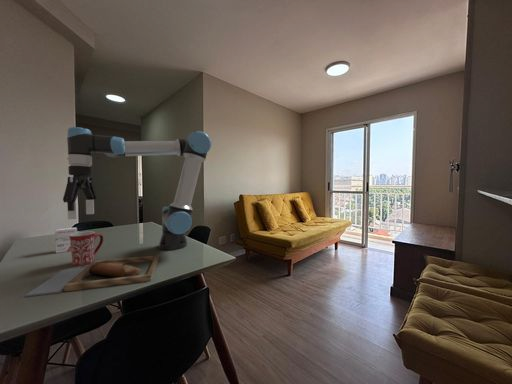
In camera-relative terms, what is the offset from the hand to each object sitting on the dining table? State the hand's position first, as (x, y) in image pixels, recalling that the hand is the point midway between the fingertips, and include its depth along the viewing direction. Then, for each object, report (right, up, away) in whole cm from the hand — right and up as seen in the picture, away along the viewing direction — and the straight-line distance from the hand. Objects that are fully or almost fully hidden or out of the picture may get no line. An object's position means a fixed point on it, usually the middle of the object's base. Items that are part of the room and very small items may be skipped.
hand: (82, 216), depth 86 cm
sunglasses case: (+18, -23, -3) cm, 30 cm away
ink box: (-28, -21, +24) cm, 43 cm away
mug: (-4, -22, +8) cm, 24 cm away
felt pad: (+2, -23, -11) cm, 25 cm away
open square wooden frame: (+18, -22, -3) cm, 29 cm away
